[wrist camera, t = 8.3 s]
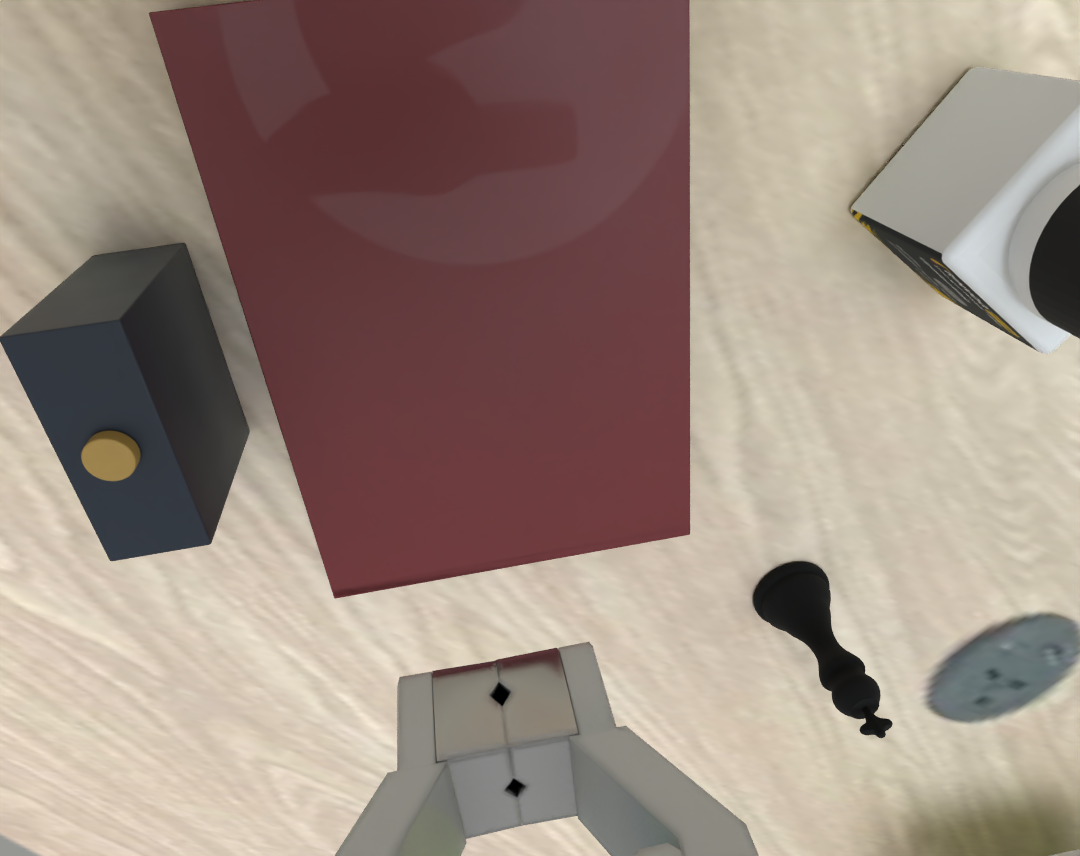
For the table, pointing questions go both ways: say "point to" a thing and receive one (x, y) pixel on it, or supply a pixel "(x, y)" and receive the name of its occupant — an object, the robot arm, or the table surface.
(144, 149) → the table surface
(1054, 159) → the medicine bottle
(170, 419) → the alarm clock
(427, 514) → the burgundy book
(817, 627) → the chess piece
